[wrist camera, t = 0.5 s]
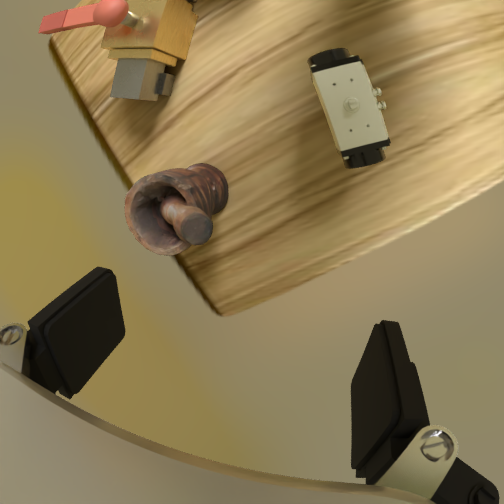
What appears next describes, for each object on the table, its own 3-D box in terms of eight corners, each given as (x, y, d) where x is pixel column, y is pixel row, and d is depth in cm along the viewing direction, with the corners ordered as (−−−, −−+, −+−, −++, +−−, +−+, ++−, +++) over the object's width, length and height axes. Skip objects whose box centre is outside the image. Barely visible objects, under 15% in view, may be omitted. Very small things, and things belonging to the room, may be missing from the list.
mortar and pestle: (233, 135, 37) (156, 144, 19) (266, 192, 39) (219, 250, 21) (166, 178, 41) (68, 220, 23) (196, 229, 43) (118, 300, 25)
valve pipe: (161, -18, 29) (117, -48, 18) (210, -20, 28) (173, -58, 17) (129, 98, 37) (72, 95, 26) (175, 103, 36) (123, 98, 25)
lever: (133, -2, 20) (123, -7, 19) (124, 26, 22) (113, 22, 20) (53, 14, 22) (43, 12, 20) (46, 38, 23) (36, 37, 22)
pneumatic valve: (338, 161, 35) (348, 174, 25) (307, 75, 32) (303, 50, 21) (379, 150, 34) (405, 159, 23) (349, 64, 30) (362, 36, 19)
